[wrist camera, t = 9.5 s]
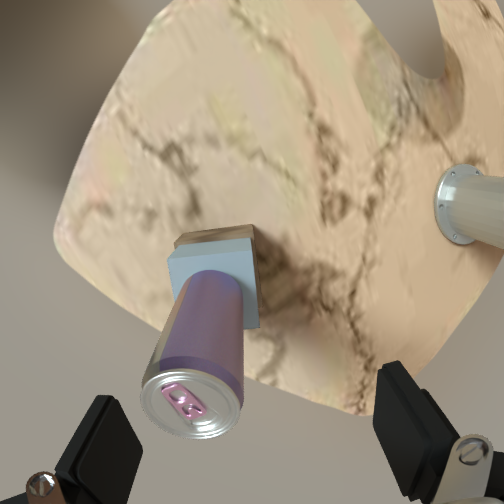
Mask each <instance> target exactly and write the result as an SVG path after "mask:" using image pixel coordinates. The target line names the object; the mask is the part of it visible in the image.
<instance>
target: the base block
mask: <svg viewBox="0 0 504 504" xmlns="http://www.w3.org/2000/svg"><path fill="white" fill-rule="evenodd" d="M249 237H250V240H251V247H252V256H253V266H254V275H255V285H256V295H257V304H258V308H260V307H263V303H262V295H261V287H260V279H259V271H258V263H257V256H256V248H255V240H254V232H253V227H252V224H247V225H240V226H232V227H225V228H218V229H210V230H203V231H196V232H189V233H183V234H182V235H181V236H180V237H179V238H178V239H177V240H176V241H175V242H174V247H175V249H176V248H177V247H178V246H179V245H185V244H194V243H203V242H212V241H221V240H231V239H240V238H249Z"/></svg>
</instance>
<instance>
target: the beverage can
mask: <svg viewBox="0 0 504 504" xmlns="http://www.w3.org/2000/svg"><path fill="white" fill-rule="evenodd" d="M140 401H141V405H142V408H143V411H144V412H145V414H146V415H147V417H148V418H149V419H150V420H151V421H152V422H153V423H154V424H155V425H156V426H158V427H159V428H161V429H162V430H164V431H166V432H168V433H170V434H172V435H175V436H178V437H182V438H187V439H196V440H197V439H198V440H200V439H210V438H215V437H218V436H221V435H223V434H225V433H227V432H228V431H229V430H231V429H232V428H233V427H234V426H235V425H236V423H237V422H238V420H239V416H240V410H241V408H242V406H243V402H244V328H243V293H242V290H241V288H240V286H239V284H238V283H237V282H236V281H235V280H234V279H233V278H232V277H231V276H229V275H228V274H226V273H224V272H221V271H217V270H203V271H199V272H197V273H195V274H193V275H191V276H190V277H189V278H188V279H187V280H186V281H185V283H184V284H183V286H182V288H181V290H180V293H179V295H178V297H177V299H176V301H175V304H174V306H173V308H172V310H171V313H170V315H169V317H168V319H167V322H166V324H165V326H164V329H163V331H162V333H161V336H160V338H159V340H158V343H157V345H156V347H155V350H154V352H153V355H152V357H151V359H150V361H149V364H148V366H147V369H146V371H145V374H144V376H143V379H142V391H141V395H140Z"/></svg>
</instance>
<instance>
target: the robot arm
mask: <svg viewBox="0 0 504 504" xmlns="http://www.w3.org/2000/svg"><path fill="white" fill-rule="evenodd" d="M434 210H435V217H436V220H437V224H438V226H439V228H440V230H441V232H442V233H443V235H444V236H445V237H446V238H447V239H449V240H450V241H452V242H454V243H457V244H463V245H464V244H469V243H471V242H474V241H475V240H479V241H482V242H484V243H487V244H490V245H492V246H495V247H498V248H500V249H503V250H504V177H498V176H486V175H483V174H482V173H481V172H480V170H478V169H477V168H476V167H474V166H472V165H468V164H458V165H454V166H452V167H451V168H449V169H448V170H447V171H446V172H445V173H444V174H443V176H442V177H441V179H440V181H439V183H438V185H437V189H436V192H435V199H434ZM373 427H374V431H375V433H376V435H377V437H378V440H379V442H380V444H381V446H382V449H383V451H384V453H385V455H386V457H387V460H388V462H389V465H390V467H391V469H392V472H393V474H394V476H395V479H396V481H397V483H398V486H399V488H400V491H401V493H402V495H403V496H404V497H405V496H408V497H409V500H410V501H411V502H412V501H414V500H417V499H420V500H421V502H422V503H423V504H504V453H503V452H497V451H493V446H492V443H491V442H490V441H489V440H488V438H486V437H484V436H482V435H478V434H469V435H466V436H463V437H460V436H459V434H458V433H457V432H456V430H455V429H454V427H453V426H452V424H451V423H450V421H449V420H448V419H447V417H446V416H445V414H444V413H443V412H442V410H441V409H440V408H439V406H438V405H437V403H436V402H435V401H434V399H433V398H432V396H431V395H430V394H429V392H428V391H427V390H425V389H421V390H420V388H419V387H418V385H417V384H416V383H415V381H414V380H413V379H412V377H411V376H410V374H409V373H408V372H407V370H406V369H405V368H404V366H403V365H402V363H401V362H400V361H398V360H397V361H393V362H390V363H386V364H383V366H382V369H379V370H378V374H377V386H376V396H375V406H374V415H373ZM142 454H143V449H142V445H141V443H140V441H139V440H138V438H137V436H136V434H135V432H134V431H133V429H132V427H131V425H130V423H129V421H128V419H127V417H126V415H125V413H124V411H123V409H122V407H121V405H120V403H119V401H118V400H117V399H115V398H114V397H113V396H111V395H98V396H96V398H95V399H94V401H93V403H92V405H91V406H90V408H89V409H88V411H87V413H86V414H85V416H84V418H83V420H82V421H81V423H80V425H79V426H78V428H77V430H76V432H75V433H74V435H73V437H72V439H71V440H70V442H69V444H68V446H67V447H66V449H65V451H64V453H63V455H62V456H61V458H60V460H59V462H58V463H57V465H56V467H55V471H56V473H55V475H53V474H52V473H50V472H44V471H43V472H38V473H36V474H34V475H33V476H31V477H30V478H29V480H28V481H27V484H26V492H25V493H22V494H19V495H17V496H14V497H11V498H9V499H6V500H3V501H0V504H127V501H128V498H129V494H130V491H131V488H132V485H133V482H134V479H135V476H136V473H137V469H138V466H139V463H140V460H141V457H142Z"/></svg>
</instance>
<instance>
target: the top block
mask: <svg viewBox="0 0 504 504" xmlns="http://www.w3.org/2000/svg"><path fill="white" fill-rule="evenodd" d="M167 262H168V268H169V274H170V279H171V285H172V290H173V295H174V300H175V301H176V299H177V297H178V295H179V293H180V290H181V288H182V286H183V284H184V283H185V281H186V280H187V279H188V278H189V277H190V276H191V275H193V274H195V273H197V272H199V271H203V270H217V271H221V272H224V273H226V274H228V275H229V276H231V277H232V278H233V279H234V280H235V281H236V282H237V283H238V284H239V286H240V288H241V290H242V293H243V328H244V329H254V328H260V323H259V314H258V304H257V295H256V285H255V275H254V266H253V256H252V247H251V240H250V237H249V238H240V239H231V240H221V241H212V242H203V243H194V244H185V245H179V246H178V247H177V248H176V249H175V250H174V252H173V253H172V254H171V255H170V256H169V257H168V259H167Z"/></svg>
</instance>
